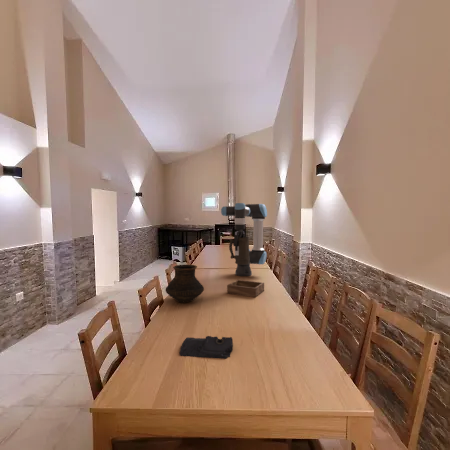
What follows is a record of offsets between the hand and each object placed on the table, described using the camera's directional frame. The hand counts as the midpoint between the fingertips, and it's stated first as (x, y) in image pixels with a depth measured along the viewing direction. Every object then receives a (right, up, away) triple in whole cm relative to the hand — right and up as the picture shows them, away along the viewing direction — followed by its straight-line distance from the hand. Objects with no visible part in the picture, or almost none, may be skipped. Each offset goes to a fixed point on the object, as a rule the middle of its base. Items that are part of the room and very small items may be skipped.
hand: (239, 254), depth 210 cm
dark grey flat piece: (-18, -31, -90) cm, 97 cm away
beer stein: (0, -7, -1) cm, 7 cm away
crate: (+4, -27, -5) cm, 27 cm away
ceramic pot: (-37, -28, -25) cm, 53 cm away
